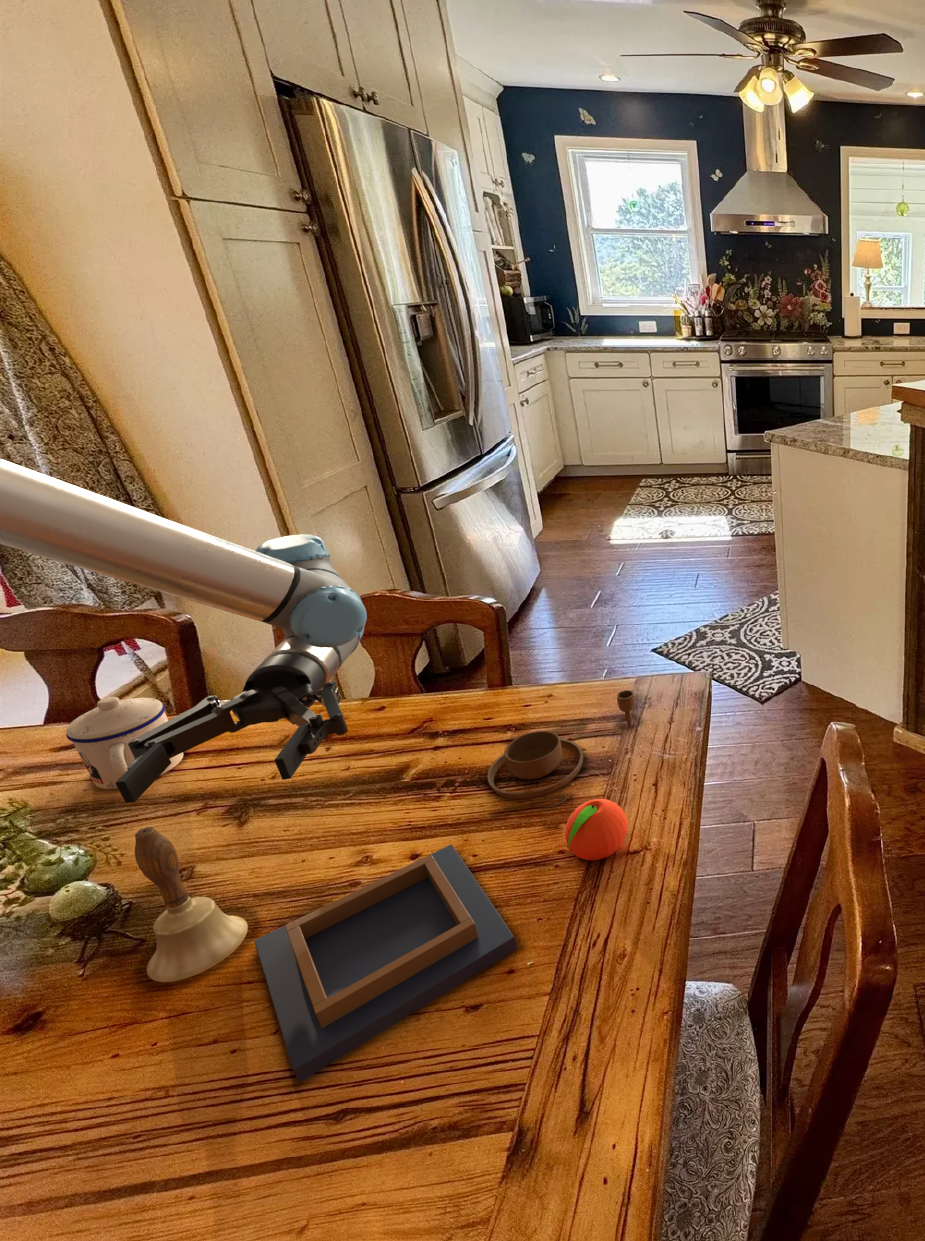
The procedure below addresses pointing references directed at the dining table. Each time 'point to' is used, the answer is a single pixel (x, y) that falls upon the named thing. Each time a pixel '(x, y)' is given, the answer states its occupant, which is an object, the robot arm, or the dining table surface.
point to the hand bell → (183, 916)
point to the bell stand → (378, 957)
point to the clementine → (596, 829)
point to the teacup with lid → (114, 736)
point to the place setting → (544, 756)
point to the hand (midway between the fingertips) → (205, 780)
